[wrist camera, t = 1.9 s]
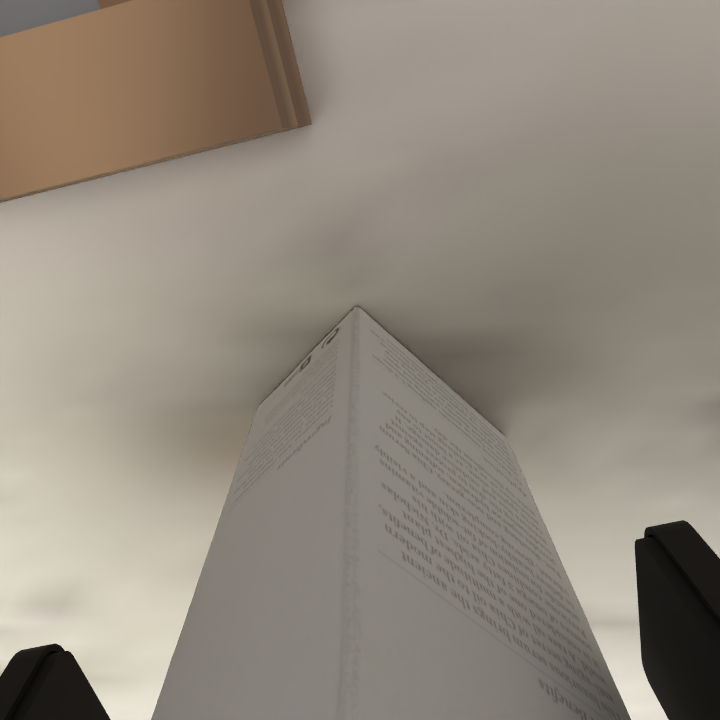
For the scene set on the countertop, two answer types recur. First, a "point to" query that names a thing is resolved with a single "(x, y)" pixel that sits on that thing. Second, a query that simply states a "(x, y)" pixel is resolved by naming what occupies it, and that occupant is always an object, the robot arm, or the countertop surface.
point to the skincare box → (381, 563)
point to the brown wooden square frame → (137, 84)
